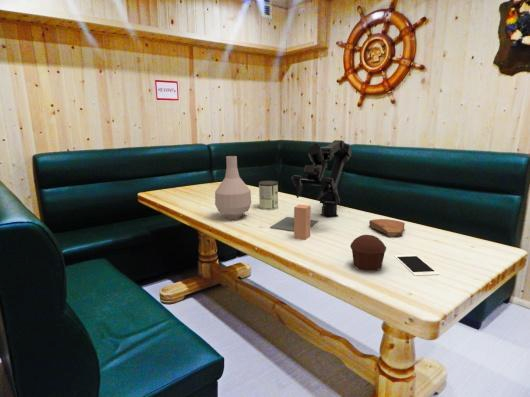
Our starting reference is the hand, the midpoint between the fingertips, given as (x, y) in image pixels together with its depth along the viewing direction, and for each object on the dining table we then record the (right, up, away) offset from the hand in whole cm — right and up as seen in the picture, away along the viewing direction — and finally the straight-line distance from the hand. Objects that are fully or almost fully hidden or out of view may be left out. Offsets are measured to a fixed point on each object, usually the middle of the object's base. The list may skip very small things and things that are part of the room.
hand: (306, 198), depth 150 cm
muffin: (+16, -22, -33) cm, 43 cm away
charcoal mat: (-4, -12, +12) cm, 18 cm away
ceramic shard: (+34, -15, +1) cm, 37 cm away
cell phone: (+32, -22, -33) cm, 51 cm away
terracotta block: (-2, -16, -4) cm, 17 cm away
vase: (-33, -9, +27) cm, 44 cm away
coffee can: (-16, -5, +43) cm, 46 cm away
